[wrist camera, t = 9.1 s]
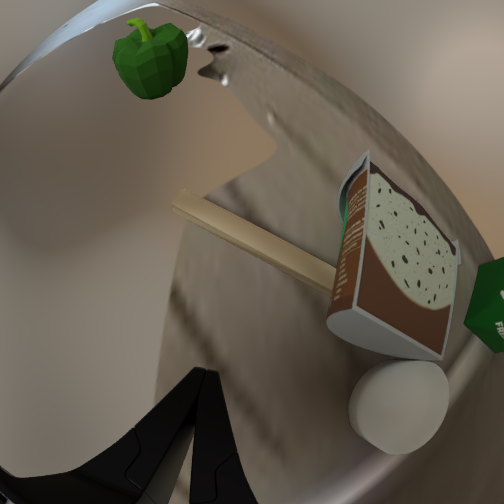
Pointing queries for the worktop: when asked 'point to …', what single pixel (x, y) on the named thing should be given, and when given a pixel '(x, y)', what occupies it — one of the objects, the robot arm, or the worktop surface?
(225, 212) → the oak strip
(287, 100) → the worktop surface
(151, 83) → the bell pepper
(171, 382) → the worktop surface
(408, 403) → the white domed puck
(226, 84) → the worktop surface
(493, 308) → the milk carton
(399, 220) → the food container
